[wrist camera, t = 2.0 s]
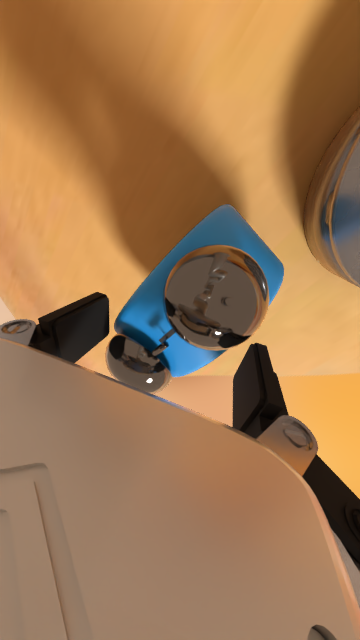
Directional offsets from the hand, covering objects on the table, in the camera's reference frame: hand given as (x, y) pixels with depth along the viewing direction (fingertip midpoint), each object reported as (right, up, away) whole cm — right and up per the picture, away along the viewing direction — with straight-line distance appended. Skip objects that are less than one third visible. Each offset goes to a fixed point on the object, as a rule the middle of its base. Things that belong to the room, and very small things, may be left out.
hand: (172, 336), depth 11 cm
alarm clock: (+4, +6, +10) cm, 12 cm away
